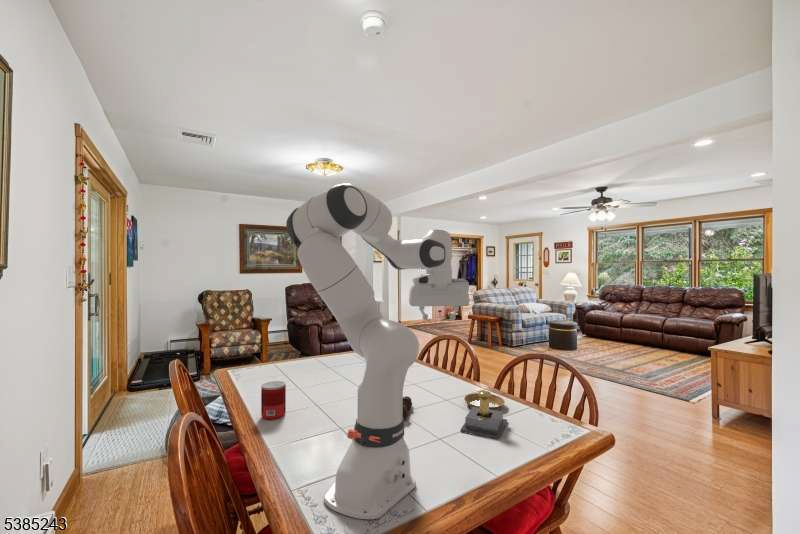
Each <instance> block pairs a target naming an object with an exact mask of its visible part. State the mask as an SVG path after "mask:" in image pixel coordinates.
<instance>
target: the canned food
mask: <svg viewBox="0 0 800 534" xmlns="http://www.w3.org/2000/svg"><path fill="white" fill-rule="evenodd" d="M260 389H261V391H260V392H261V393H260V395H261V396H260V397H261V398H260V399H261V401H260V402H261V403H260V404H261V405H260V406H261V407H260V408H261V409H260V410H261V411H260V413H261V414H260V415H261V418H262V419H263V420H264V421H276V420H280V419H281V418H283V417H285V415H286V408H287V407H286V402H287V401H286V399H287V397H286V394H287V393H286V392H287V390H286V389H287V385H286V382H284V381H280V380H273V381H269V382H268V381H267V382H264V383H263V384H262V385H261V388H260Z"/></svg>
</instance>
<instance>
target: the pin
mask: <svg viewBox="0 0 800 534" xmlns="http://www.w3.org/2000/svg"><path fill="white" fill-rule="evenodd" d="M477 393H478V396H479V397H480V416H481V417H486V418H489V398H490V397H491V394H492V393H491V391H487V390H479V391H478V392H477Z"/></svg>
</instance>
